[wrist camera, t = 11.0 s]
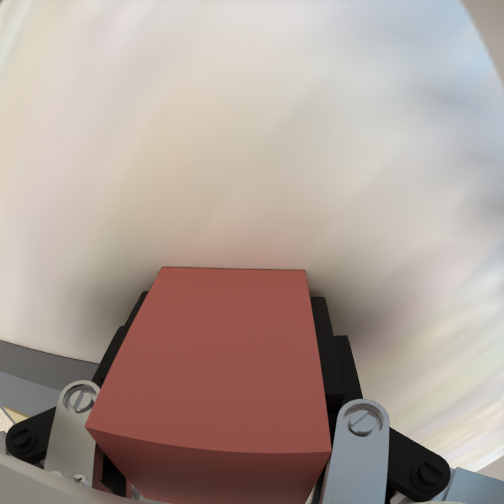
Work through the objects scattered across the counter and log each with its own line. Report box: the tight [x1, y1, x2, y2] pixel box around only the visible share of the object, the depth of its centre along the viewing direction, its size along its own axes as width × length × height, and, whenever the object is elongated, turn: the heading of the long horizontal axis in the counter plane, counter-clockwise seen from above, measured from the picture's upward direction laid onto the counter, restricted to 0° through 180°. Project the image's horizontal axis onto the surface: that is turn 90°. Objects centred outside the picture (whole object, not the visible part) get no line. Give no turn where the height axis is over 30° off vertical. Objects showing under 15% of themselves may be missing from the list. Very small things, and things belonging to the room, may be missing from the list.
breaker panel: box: [0, 341, 170, 504], centre depth 15 cm, size 20×11×4 cm, turn 0°
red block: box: [84, 267, 332, 504], centre depth 8 cm, size 4×4×6 cm
